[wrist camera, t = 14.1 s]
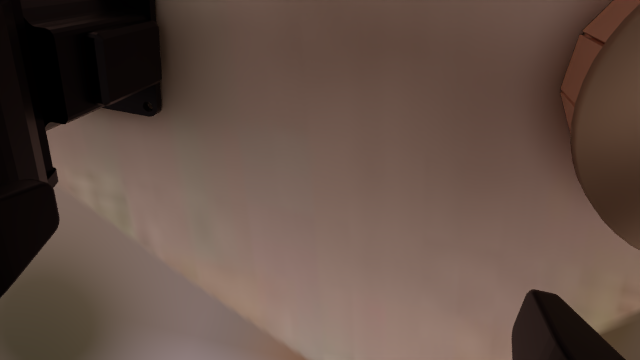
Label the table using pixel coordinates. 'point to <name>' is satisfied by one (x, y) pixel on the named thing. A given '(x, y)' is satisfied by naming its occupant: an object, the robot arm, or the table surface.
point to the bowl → (591, 50)
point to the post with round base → (612, 131)
